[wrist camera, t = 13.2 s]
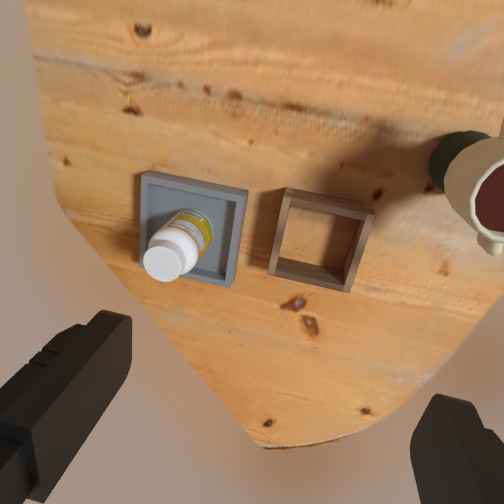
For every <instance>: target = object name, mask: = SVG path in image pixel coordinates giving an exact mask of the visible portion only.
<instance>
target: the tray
mask: <svg viewBox="0 0 504 504" xmlns="http://www.w3.org/2000/svg"><path fill="white" fill-rule="evenodd" d="M247 197H248V190H243V189H238V188H233V187H229V186H224V185H219V184H214V183H209V182H205V181H200V180H195V179H190V178H185V177H181V176H176V175H171V174H166V173H162V172H157V171H152V170H149V171H148V172H146V173H144V174H142V175H141V207H140V254H139V267H143V268H145V267H144V264H143V257H144V254H145V252H146V251H147V250H148V245H149V242H150V239H151V238H152V236H153V235H154V234H155V233H156V232H157V231H158V230H159V229H160V228H161V227H162V226H164V225H165V224H166V223H167V222H168V221H169V220H170V219H171V218H172V217H173V216H174V215H175V214H177V213H178V212H180V211H182V210H185V209H194V210H197V211H200V212H201V213H203V214H204V215H205V216H207V218H208V219H209V220H210V222H211V224H212V227H213V238H212V240H211V242H210V244H209V245H208V247H207V248H206V250H205V251H204V253H203V254H202V256H201V257H200V259H199V260H198V261H197V263H196V264H195V266H194V267H193V268H192V269H191V270H190V271H189V272H187V273H185V274H182V275H179V276H181V277H185V278H189V279H194V280H198V281H202V282H206V283H211V284H215V285H219V286H224V287H228V288H231V285H232V283H233V281H234V279H235V273H236V266H237V260H238V254H239V247H240V241H241V235H242V229H243V222H244V216H245V210H246V204H247Z"/></svg>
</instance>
